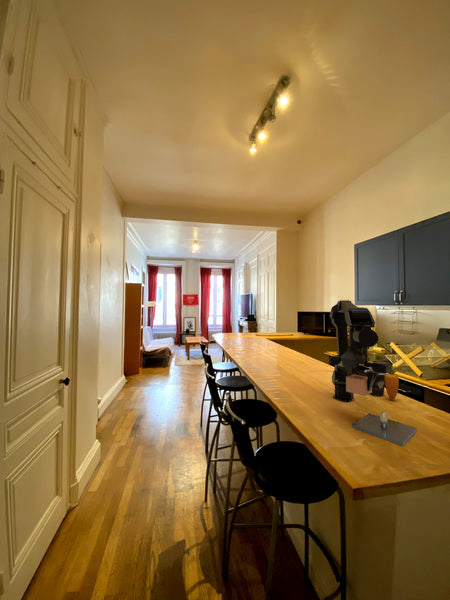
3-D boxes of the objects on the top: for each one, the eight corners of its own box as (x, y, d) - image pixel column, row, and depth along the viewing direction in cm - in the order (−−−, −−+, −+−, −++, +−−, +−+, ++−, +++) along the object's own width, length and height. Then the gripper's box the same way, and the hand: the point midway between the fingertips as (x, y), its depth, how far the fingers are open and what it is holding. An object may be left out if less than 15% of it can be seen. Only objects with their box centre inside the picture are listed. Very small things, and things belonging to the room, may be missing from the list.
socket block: (346, 391, 85) (345, 376, 85) (354, 388, 89) (353, 374, 89) (364, 396, 80) (364, 380, 81) (372, 392, 84) (371, 377, 84)
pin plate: (351, 427, 80) (351, 410, 80) (369, 416, 89) (368, 400, 89) (402, 446, 69) (402, 426, 69) (416, 431, 78) (416, 413, 78)
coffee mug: (383, 392, 115) (383, 370, 115) (389, 398, 107) (388, 375, 107) (355, 389, 118) (355, 368, 119) (359, 395, 110) (359, 373, 111)
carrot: (382, 398, 106) (381, 364, 107) (392, 398, 106) (392, 364, 107) (390, 403, 101) (390, 366, 102) (402, 403, 101) (401, 366, 102)
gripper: (321, 342, 88) (321, 385, 87) (378, 348, 73) (379, 401, 72) (337, 340, 95) (337, 380, 94) (392, 345, 80) (393, 393, 79)
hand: (359, 388), depth 85 cm, fingers closed on socket block, 6 cm apart
